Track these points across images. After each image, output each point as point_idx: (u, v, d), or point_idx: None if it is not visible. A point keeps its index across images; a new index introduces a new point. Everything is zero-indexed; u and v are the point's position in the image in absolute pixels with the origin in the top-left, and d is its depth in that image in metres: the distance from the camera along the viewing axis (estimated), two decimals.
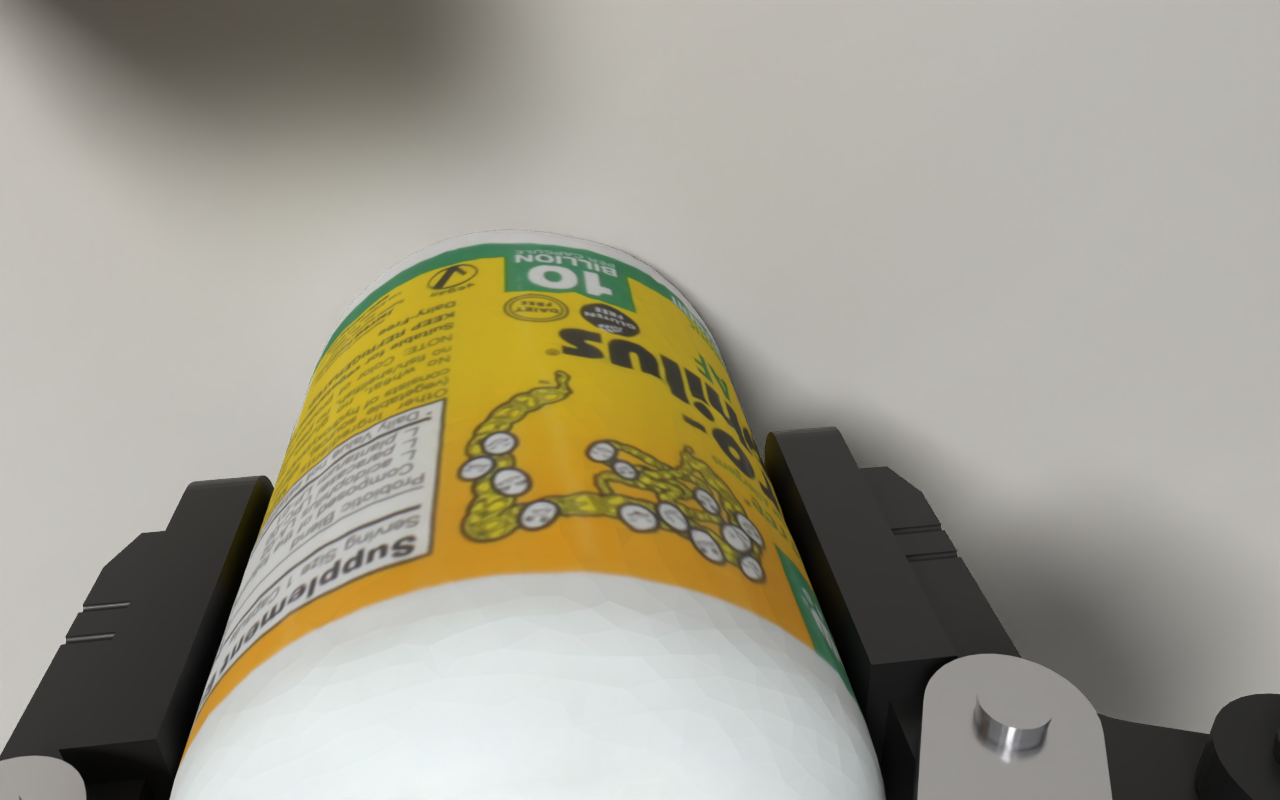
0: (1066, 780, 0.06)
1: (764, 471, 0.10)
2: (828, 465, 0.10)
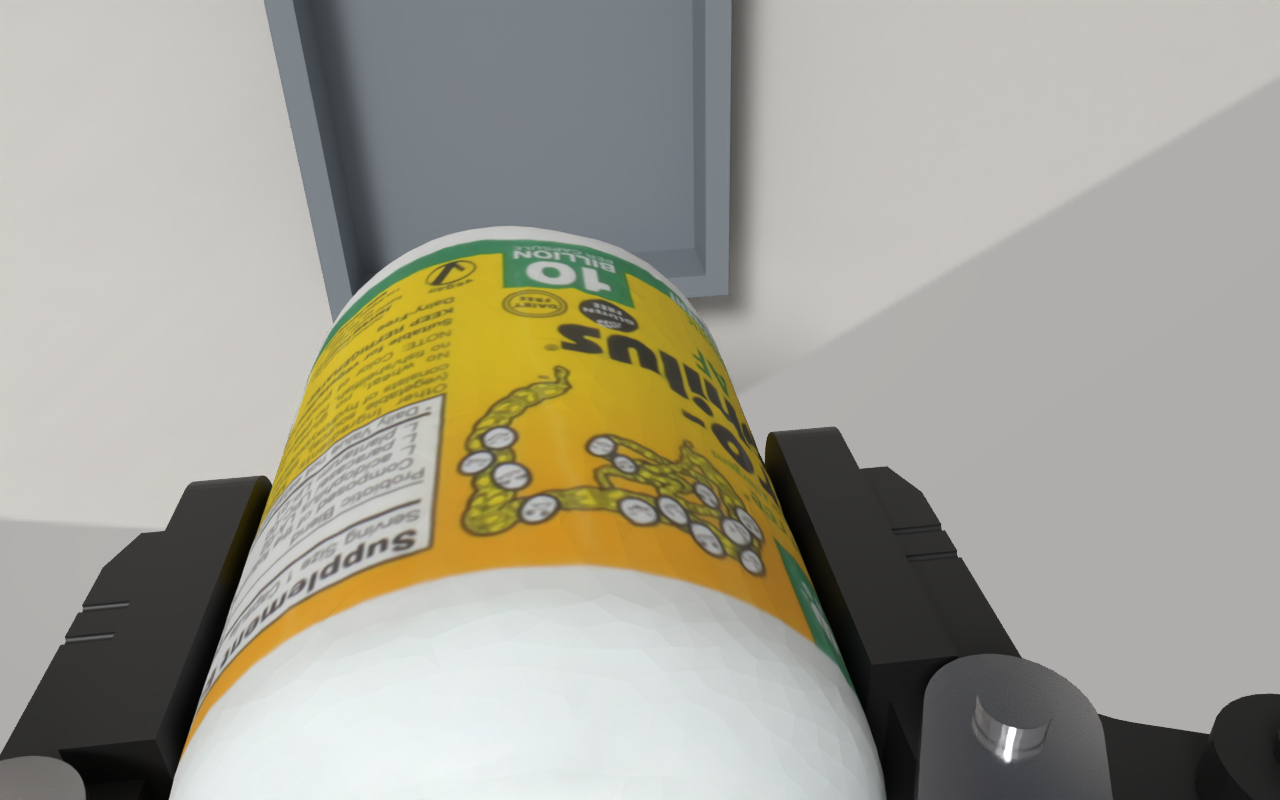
0: (1066, 780, 0.06)
1: (763, 466, 0.10)
2: (828, 465, 0.10)
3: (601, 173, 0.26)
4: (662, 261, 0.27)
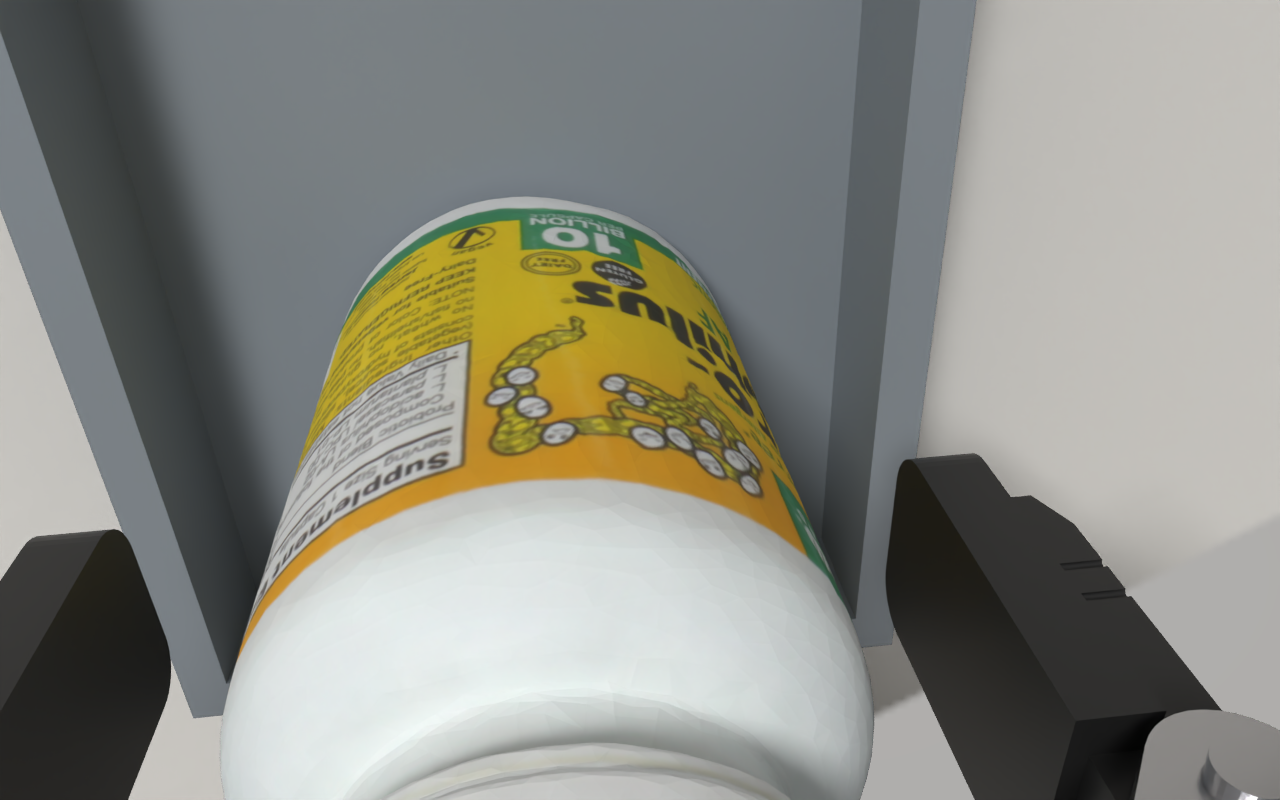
0: None
1: (763, 414, 0.11)
2: (979, 496, 0.09)
3: None
4: None
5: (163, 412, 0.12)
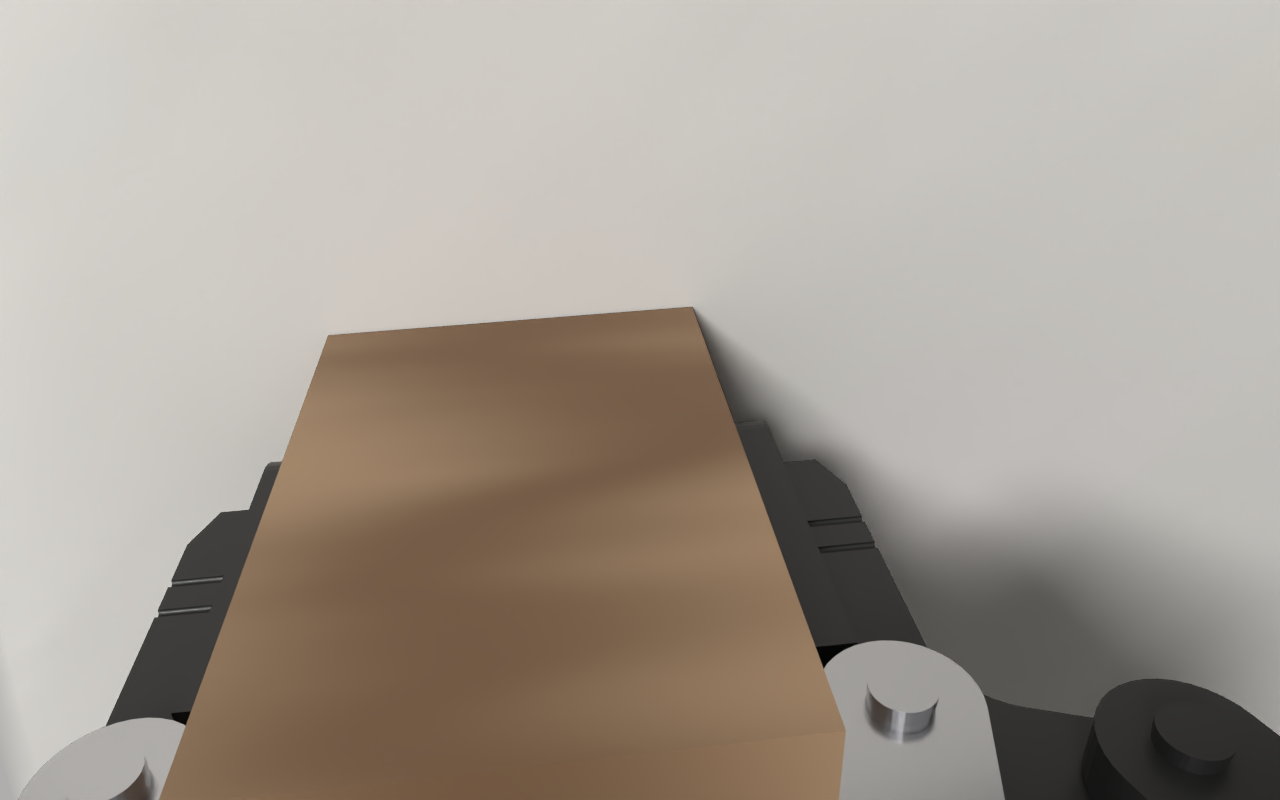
0: (946, 762, 0.07)
1: None
2: (752, 458, 0.10)
3: None
4: None
5: None
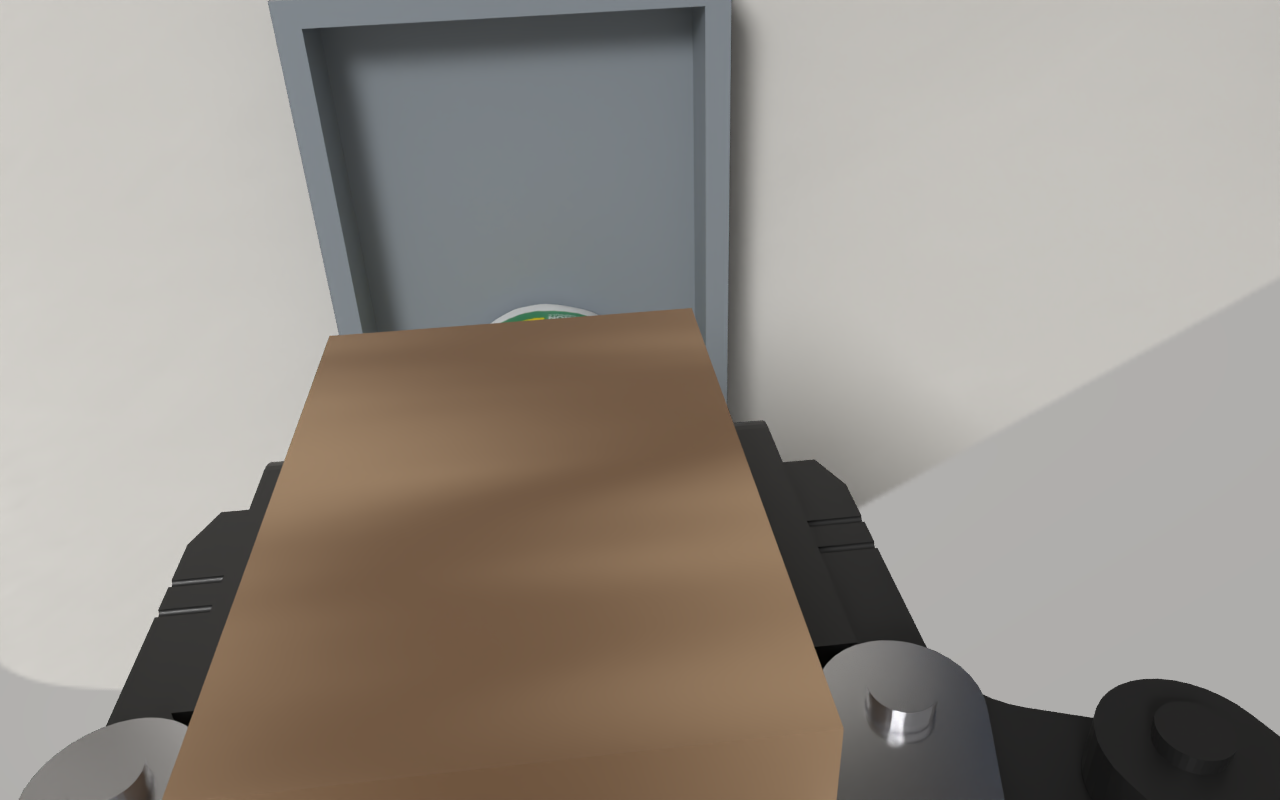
0: (946, 762, 0.07)
1: None
2: (752, 458, 0.10)
3: None
4: None
5: None
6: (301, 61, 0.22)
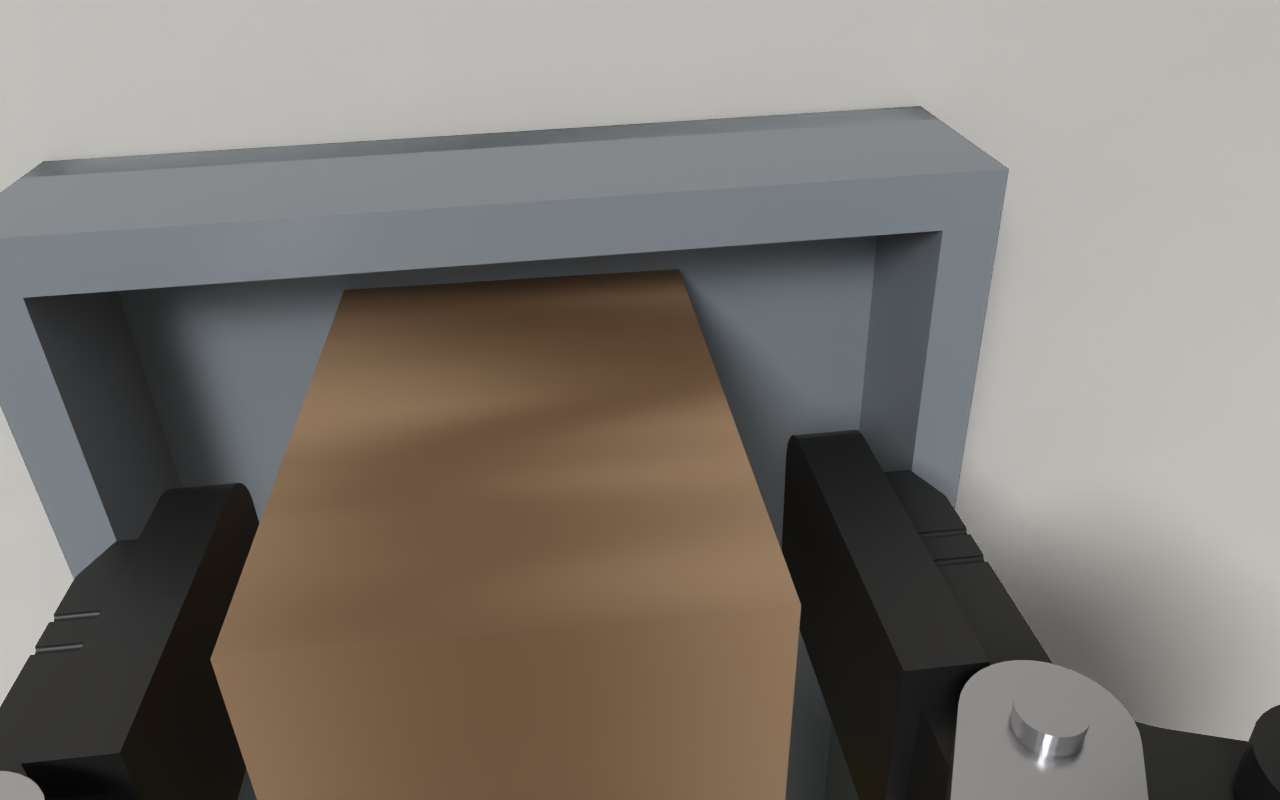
0: (1106, 788, 0.06)
1: None
2: (852, 468, 0.10)
3: None
4: None
5: None
6: (31, 363, 0.10)
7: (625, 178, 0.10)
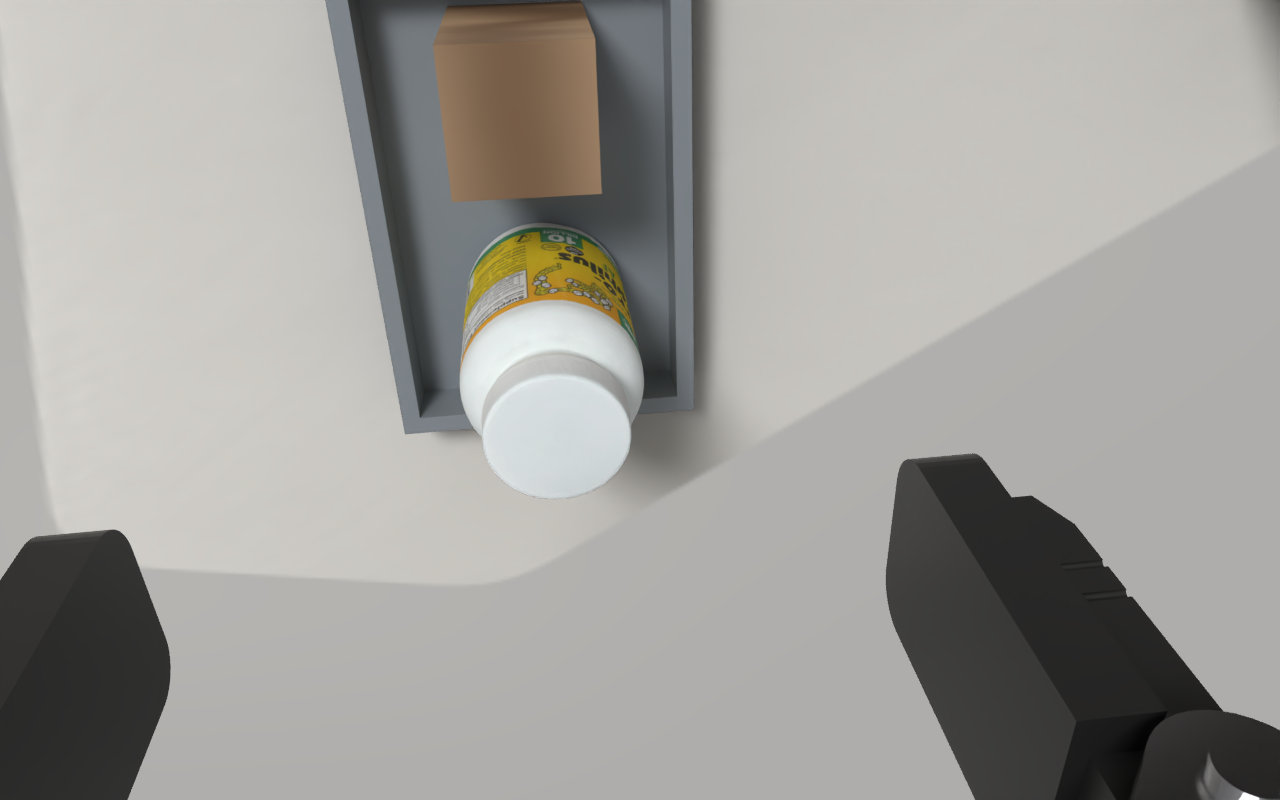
0: None
1: (623, 298, 0.31)
2: (980, 496, 0.09)
3: None
4: (646, 382, 0.36)
5: (404, 304, 0.33)
6: (344, 11, 0.27)
7: None
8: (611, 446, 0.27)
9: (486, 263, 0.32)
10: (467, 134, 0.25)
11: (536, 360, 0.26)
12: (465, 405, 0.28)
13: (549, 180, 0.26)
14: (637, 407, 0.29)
